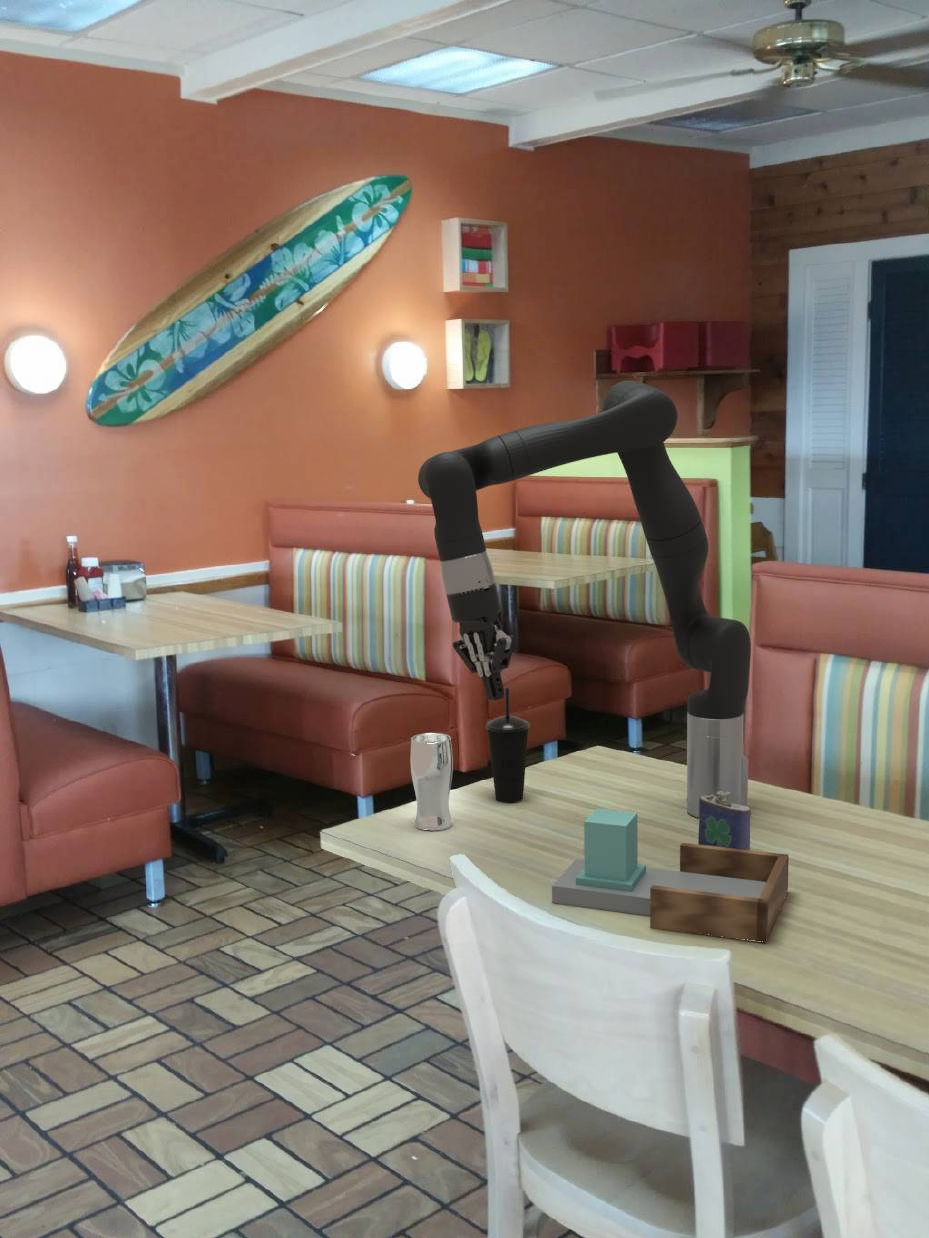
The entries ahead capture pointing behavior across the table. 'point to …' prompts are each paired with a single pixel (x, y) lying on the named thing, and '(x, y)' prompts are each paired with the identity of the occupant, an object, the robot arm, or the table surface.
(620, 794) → the table surface
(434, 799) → the beer glass
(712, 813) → the flask
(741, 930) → the box
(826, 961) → the table surface
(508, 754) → the drinking cup
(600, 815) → the teal block
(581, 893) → the board
